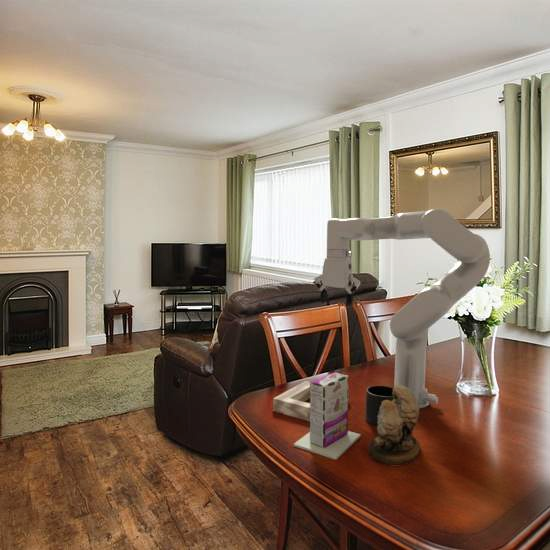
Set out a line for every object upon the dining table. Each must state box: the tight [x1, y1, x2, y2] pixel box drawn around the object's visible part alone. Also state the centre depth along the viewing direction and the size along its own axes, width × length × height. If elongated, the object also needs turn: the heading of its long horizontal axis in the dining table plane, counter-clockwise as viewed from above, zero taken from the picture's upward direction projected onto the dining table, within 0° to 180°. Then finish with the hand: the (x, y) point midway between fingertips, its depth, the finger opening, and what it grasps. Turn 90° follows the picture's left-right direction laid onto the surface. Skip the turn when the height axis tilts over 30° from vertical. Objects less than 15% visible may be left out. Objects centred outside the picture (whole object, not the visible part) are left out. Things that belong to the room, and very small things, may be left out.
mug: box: [365, 385, 394, 427], centre depth 130 cm, size 9×12×9 cm
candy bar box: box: [309, 372, 349, 448], centre depth 115 cm, size 11×5×16 cm, turn 138°
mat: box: [293, 430, 361, 460], centre depth 116 cm, size 12×15×1 cm
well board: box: [272, 380, 350, 422], centre depth 139 cm, size 16×20×4 cm
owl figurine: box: [368, 385, 421, 466], centre depth 111 cm, size 18×12×17 cm, turn 147°
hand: (336, 303), depth 154 cm, fingers open, 9 cm apart
